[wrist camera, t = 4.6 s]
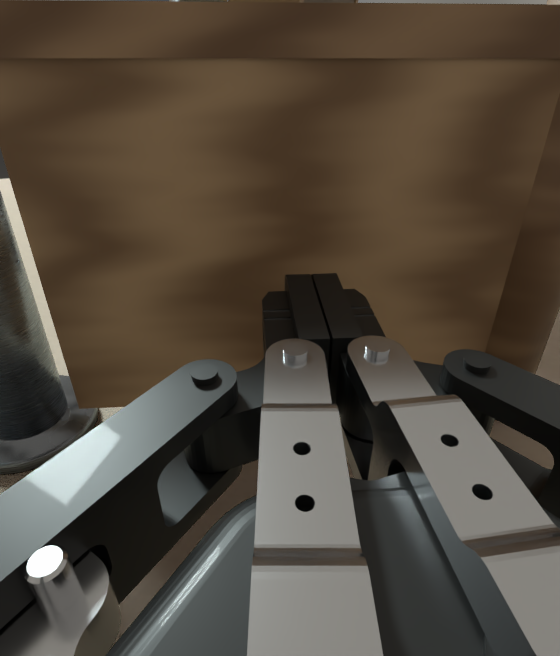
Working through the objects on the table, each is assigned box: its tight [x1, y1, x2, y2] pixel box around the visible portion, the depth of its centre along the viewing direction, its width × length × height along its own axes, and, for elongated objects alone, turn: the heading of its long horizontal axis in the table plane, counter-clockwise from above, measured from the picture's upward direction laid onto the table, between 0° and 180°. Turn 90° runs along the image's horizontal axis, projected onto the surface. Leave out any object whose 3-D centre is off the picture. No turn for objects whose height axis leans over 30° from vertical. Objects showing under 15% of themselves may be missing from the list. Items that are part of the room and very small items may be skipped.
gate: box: [0, 0, 560, 409], centre depth 16 cm, size 18×3×14 cm, turn 94°
